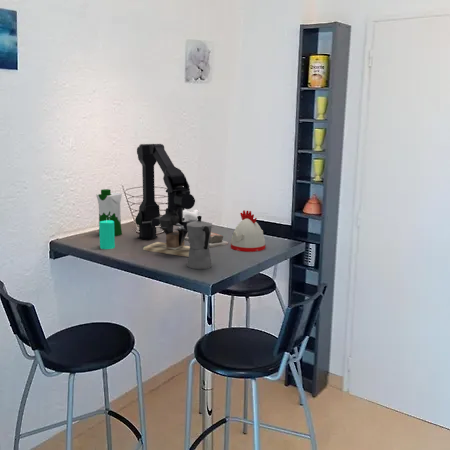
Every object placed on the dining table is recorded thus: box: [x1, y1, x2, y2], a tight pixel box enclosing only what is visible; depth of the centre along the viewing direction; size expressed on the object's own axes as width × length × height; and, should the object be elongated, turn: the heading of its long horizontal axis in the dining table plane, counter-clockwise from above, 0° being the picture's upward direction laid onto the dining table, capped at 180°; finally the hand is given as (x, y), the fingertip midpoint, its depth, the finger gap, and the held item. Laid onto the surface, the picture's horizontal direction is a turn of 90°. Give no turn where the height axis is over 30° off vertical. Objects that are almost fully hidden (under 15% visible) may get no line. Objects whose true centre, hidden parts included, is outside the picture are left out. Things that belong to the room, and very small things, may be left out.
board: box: [143, 241, 190, 257], centre depth 217 cm, size 20×10×1 cm, turn 64°
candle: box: [98, 218, 116, 250], centre depth 219 cm, size 6×6×12 cm
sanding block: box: [165, 230, 186, 250], centre depth 215 cm, size 4×7×6 cm, turn 154°
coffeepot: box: [186, 215, 213, 270], centre depth 195 cm, size 15×9×18 cm, turn 22°
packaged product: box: [184, 231, 230, 249], centre depth 232 cm, size 18×5×10 cm
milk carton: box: [96, 188, 123, 237], centre depth 240 cm, size 9×9×20 cm
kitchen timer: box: [230, 210, 266, 253], centre depth 222 cm, size 14×14×15 cm
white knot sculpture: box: [178, 209, 200, 229], centre depth 254 cm, size 11×12×9 cm
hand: (175, 245), depth 216 cm, fingers closed on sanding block, 4 cm apart
